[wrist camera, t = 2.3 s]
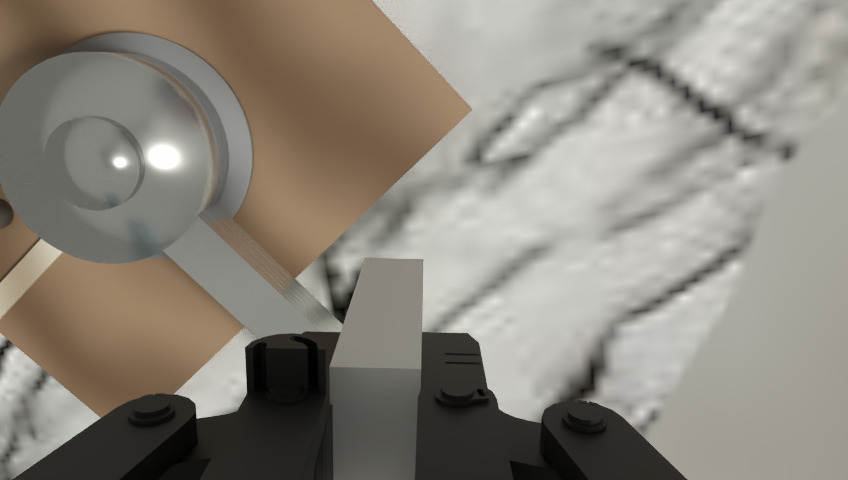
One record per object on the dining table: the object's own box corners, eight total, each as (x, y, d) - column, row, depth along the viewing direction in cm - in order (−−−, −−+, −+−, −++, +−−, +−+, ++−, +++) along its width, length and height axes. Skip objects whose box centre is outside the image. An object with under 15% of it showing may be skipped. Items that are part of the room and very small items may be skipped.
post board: (178, -211, 23) (127, -265, 19) (470, 107, 26) (477, 115, 22) (-147, 181, 27) (-244, 201, 23) (138, 424, 30) (94, 478, 26)
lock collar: (121, 9, 23) (73, 1, 20) (453, 338, 26) (455, 375, 23) (-1, 148, 25) (-63, 161, 21) (329, 446, 28) (315, 495, 24)
